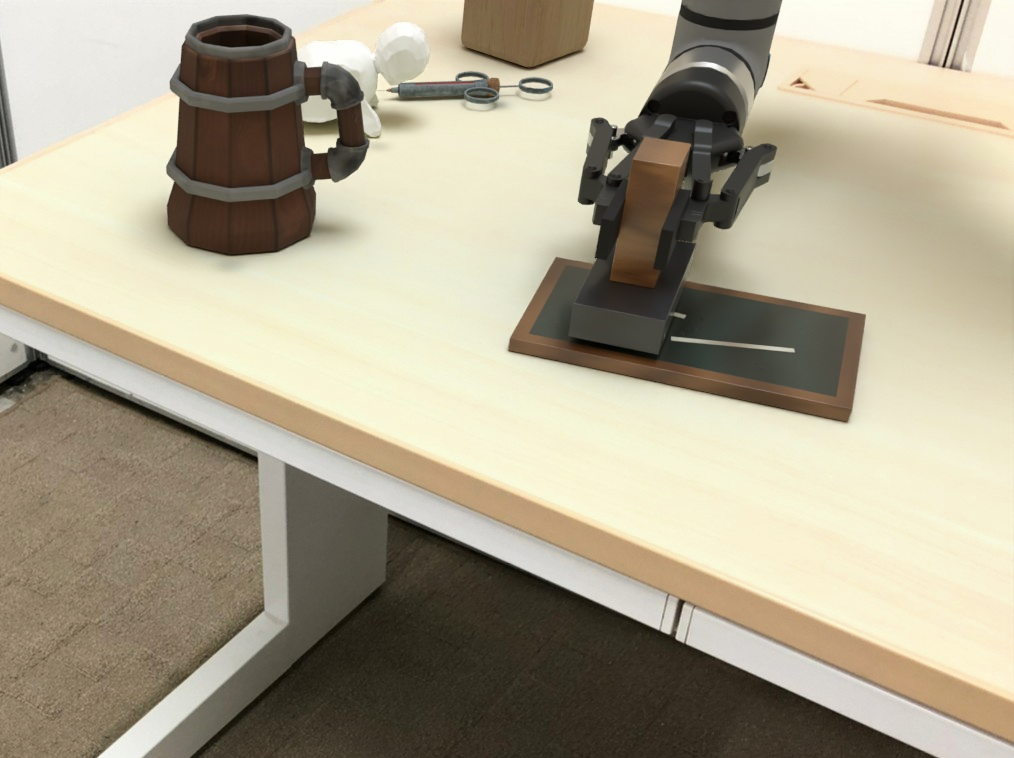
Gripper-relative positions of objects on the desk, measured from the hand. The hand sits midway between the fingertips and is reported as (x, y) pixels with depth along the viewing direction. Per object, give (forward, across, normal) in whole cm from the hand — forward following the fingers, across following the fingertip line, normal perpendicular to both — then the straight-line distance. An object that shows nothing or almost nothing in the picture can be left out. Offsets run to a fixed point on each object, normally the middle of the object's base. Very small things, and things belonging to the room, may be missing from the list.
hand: (633, 244), depth 78 cm
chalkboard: (-5, -4, -9) cm, 11 cm away
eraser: (-5, 0, -7) cm, 9 cm away
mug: (-10, +30, -9) cm, 33 cm away
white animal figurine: (-33, +32, -9) cm, 47 cm away
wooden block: (-59, +22, -9) cm, 64 cm away
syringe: (-43, +24, -9) cm, 50 cm away
